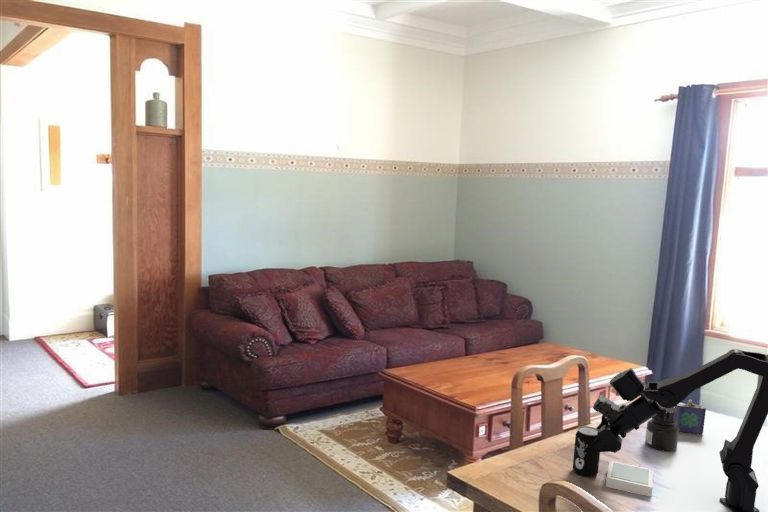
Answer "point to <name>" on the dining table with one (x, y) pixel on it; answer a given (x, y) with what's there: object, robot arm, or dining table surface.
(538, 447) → the dining table surface
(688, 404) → the flask
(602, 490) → the dining table surface
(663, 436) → the ink bottle
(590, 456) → the beverage can
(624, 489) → the trivet
